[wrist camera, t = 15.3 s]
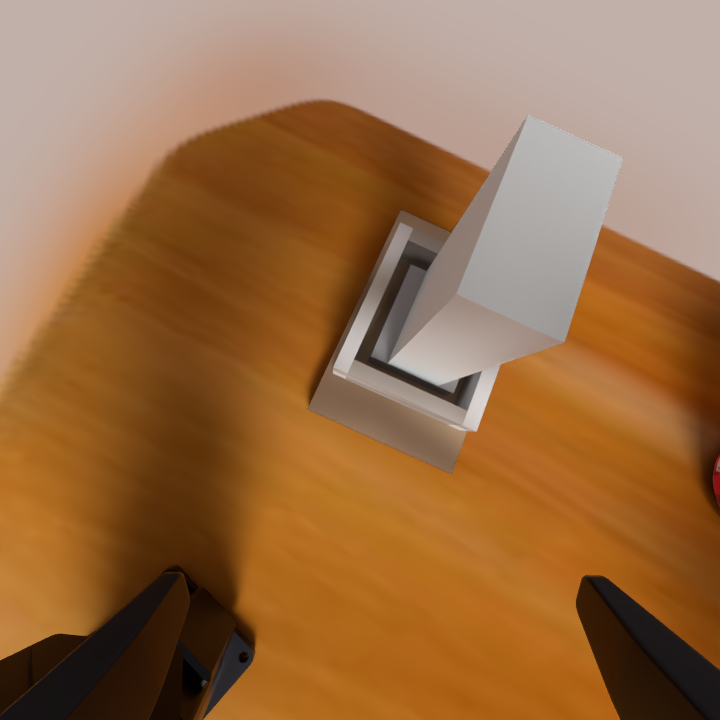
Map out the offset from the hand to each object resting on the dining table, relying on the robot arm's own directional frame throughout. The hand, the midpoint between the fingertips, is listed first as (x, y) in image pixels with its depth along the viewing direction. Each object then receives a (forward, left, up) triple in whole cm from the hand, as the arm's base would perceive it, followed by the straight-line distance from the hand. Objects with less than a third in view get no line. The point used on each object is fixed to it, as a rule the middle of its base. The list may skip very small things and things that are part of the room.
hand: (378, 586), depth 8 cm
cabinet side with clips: (+10, +3, -13) cm, 16 cm away
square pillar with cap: (+10, +3, -11) cm, 15 cm away
